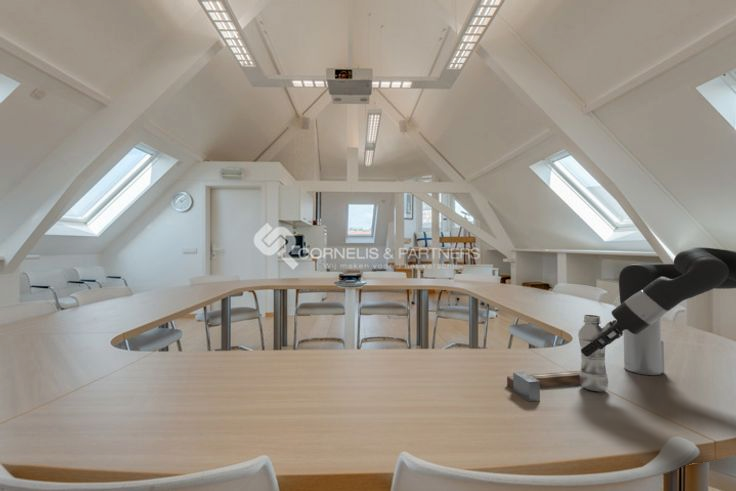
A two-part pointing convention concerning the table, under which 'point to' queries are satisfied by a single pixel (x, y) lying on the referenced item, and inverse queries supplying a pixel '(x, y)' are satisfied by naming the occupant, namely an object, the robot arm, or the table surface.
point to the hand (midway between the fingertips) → (585, 350)
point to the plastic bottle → (592, 357)
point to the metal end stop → (526, 386)
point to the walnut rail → (552, 378)
